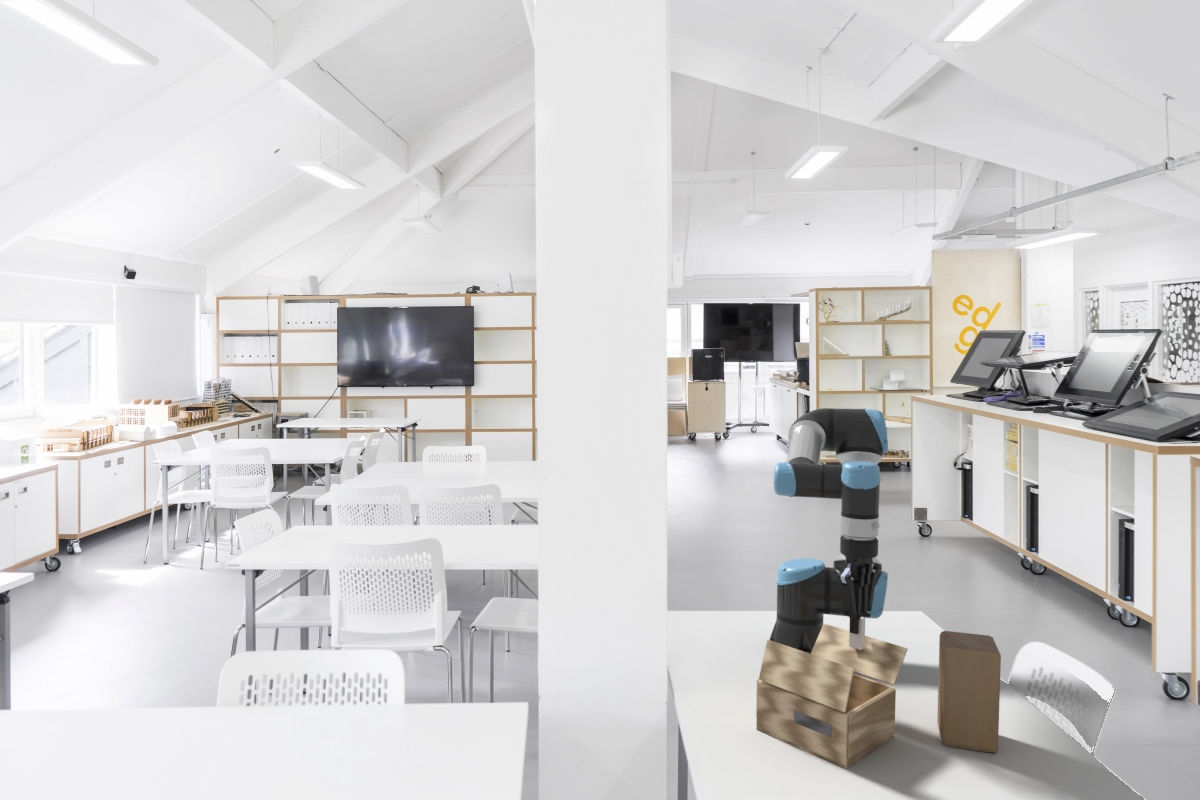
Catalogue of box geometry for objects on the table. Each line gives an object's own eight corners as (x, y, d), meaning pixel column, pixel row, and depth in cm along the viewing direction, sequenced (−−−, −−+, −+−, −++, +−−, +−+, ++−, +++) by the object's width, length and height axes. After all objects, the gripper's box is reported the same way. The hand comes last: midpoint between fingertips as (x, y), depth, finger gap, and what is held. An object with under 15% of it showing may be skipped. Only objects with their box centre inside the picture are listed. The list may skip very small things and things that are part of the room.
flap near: (758, 679, 155) (767, 639, 156) (759, 679, 155) (768, 639, 157) (844, 712, 141) (853, 668, 142) (845, 712, 141) (854, 668, 142)
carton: (754, 728, 156) (754, 680, 156) (804, 702, 168) (805, 657, 168) (847, 770, 141) (848, 717, 140) (896, 737, 153) (897, 688, 152)
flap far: (809, 656, 167) (823, 623, 170) (810, 656, 167) (824, 624, 171) (893, 684, 153) (906, 648, 156) (894, 685, 153) (907, 649, 156)
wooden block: (990, 731, 155) (993, 634, 154) (998, 755, 146) (1001, 652, 145) (936, 723, 159) (939, 628, 157) (941, 746, 149) (944, 646, 148)
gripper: (859, 544, 153) (857, 660, 154) (891, 534, 162) (889, 644, 163) (826, 537, 159) (824, 649, 160) (859, 528, 167) (856, 635, 169)
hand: (856, 647), depth 161 cm, fingers closed
